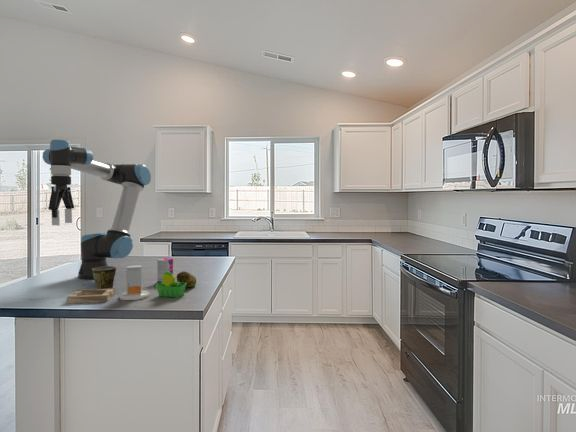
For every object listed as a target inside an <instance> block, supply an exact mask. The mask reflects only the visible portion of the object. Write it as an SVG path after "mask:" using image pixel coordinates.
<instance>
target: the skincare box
mask: <svg viewBox="0 0 576 432" xmlns="http://www.w3.org/2000/svg"><path fill="white" fill-rule="evenodd" d="M142 267H143V265H142V264H140V265H138V264H137V265H126V268H125V269H126V271H125V272H126V275H125V276H126V292H127V295H139V294H142V290H143V287H142V286H143V281H142V280H143V279H142V278H143V276H142V275H143V272H142V271H143V269H142Z"/></svg>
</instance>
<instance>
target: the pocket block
mask: <svg viewBox="0 0 576 432" xmlns="http://www.w3.org/2000/svg"><path fill="white" fill-rule="evenodd" d="M115 294H116V289H115V288H112V289H96V288H95V289H94V288H93V289H91V288H90V289H77V290H76V291H74V292H72V293H71V294H70V295H68V296H66V304H68V305H69V304H89V303H107V302H108V301H109V300H110V299H112V297H114V296H115Z"/></svg>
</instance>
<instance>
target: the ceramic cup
mask: <svg viewBox="0 0 576 432" xmlns="http://www.w3.org/2000/svg"><path fill="white" fill-rule="evenodd" d="M92 272H93V276H94V279H93V280H94V283H95V289H114V288H113V287H114V282H115V281H114V280H115V277H116V273H117V267H116V266H114V265H113V266H112V265H108V266H101V267H96V268H93V269H92Z"/></svg>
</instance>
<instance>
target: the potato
mask: <svg viewBox="0 0 576 432" xmlns="http://www.w3.org/2000/svg"><path fill="white" fill-rule="evenodd" d="M175 278H176V282H177V281H178V282H181V283H187V284H186V287H185V288H192V287H194V286H195V285H196V284H197V278H196V277H195V276H194V275H192V274H191V273H189V272H187V271H181V272H178V273H177V274H176V276H175Z"/></svg>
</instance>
